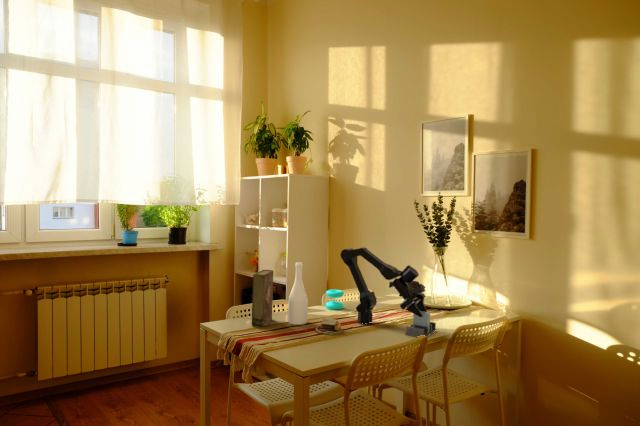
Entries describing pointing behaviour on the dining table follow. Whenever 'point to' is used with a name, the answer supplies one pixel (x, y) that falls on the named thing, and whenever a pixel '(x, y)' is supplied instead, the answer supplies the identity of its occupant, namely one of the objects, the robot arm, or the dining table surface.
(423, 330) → the dish rack
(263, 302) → the book
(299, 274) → the wine bottle
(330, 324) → the toy sandwich meal
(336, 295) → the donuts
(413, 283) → the coffee cup
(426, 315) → the tall grey-blue box
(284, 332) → the dining table surface
